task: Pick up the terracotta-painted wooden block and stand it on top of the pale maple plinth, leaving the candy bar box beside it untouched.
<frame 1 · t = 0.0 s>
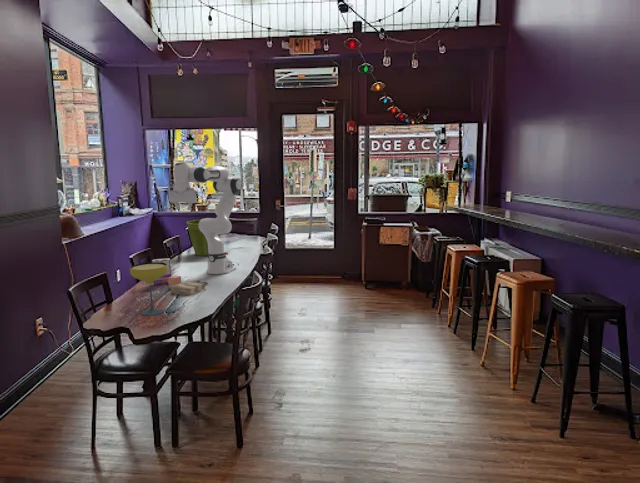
hand: (183, 209, 289), 48 cm above the table, tool pointing down, fingers open, 8 cm apart
cocktail glass: (152, 312, 236), on the table
plinth: (188, 291, 275), on the table
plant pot: (206, 254, 392), on the table
block: (175, 287, 285), on the table
candy bar box: (163, 284, 294), on the table
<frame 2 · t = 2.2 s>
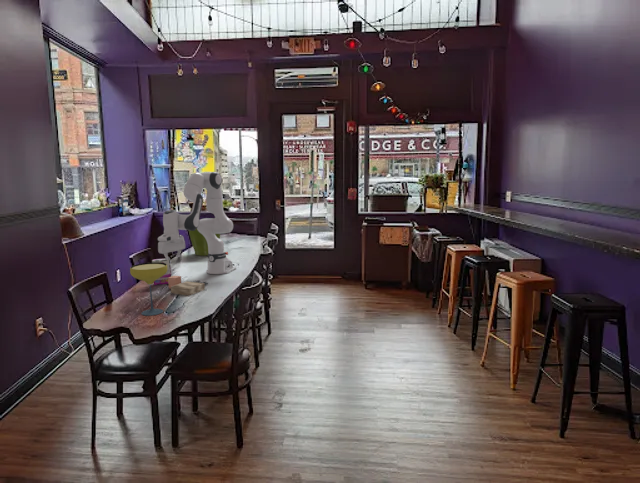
hand: (172, 258, 281), 19 cm above the table, tool pointing down, fingers open, 8 cm apart
nothing on the table moved.
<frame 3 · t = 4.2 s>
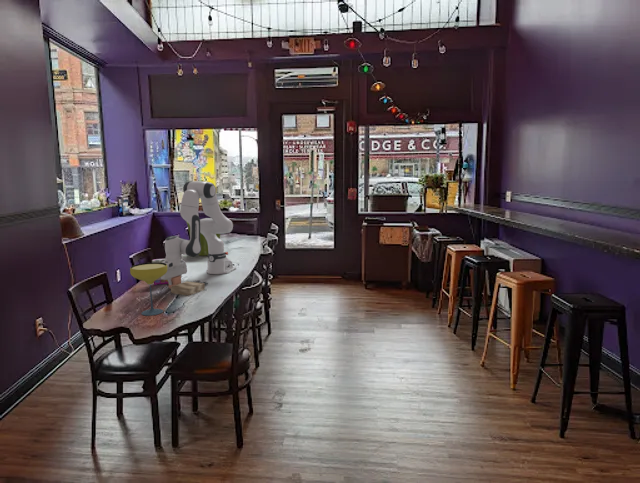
hand: (174, 283, 284), 3 cm above the table, tool pointing down, fingers closed on block, 5 cm apart
block: (175, 287, 285), on the table, touching gripper
everything else where it was.
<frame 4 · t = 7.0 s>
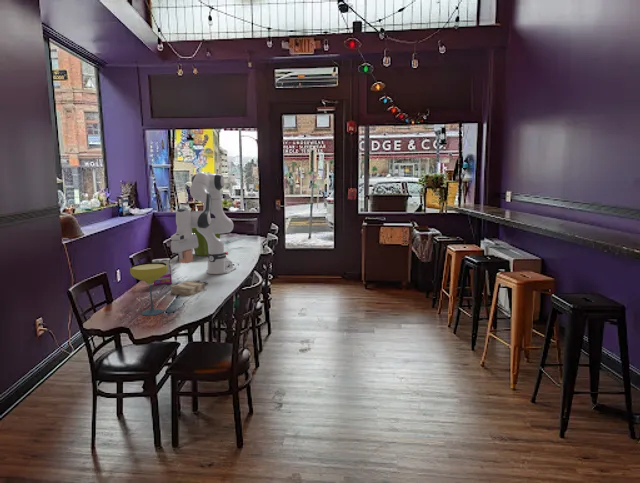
hand: (186, 257, 272), 21 cm above the table, tool pointing down, fingers closed on block, 5 cm apart
block: (186, 261, 272), point 18 cm above the table, touching gripper
everything else where it was.
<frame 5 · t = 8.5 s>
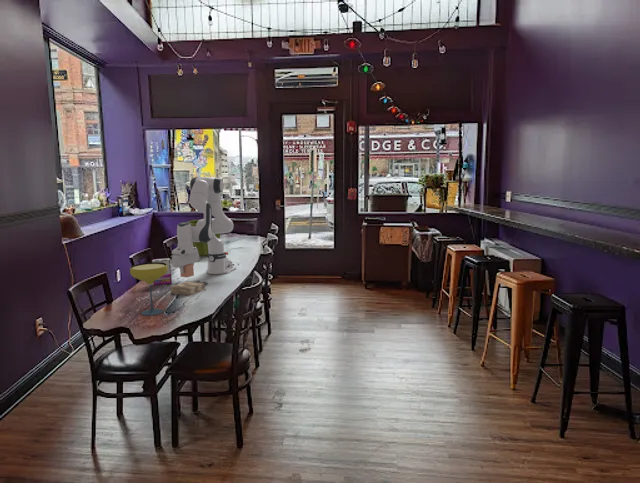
hand: (187, 271, 273), 12 cm above the table, tool pointing down, fingers closed on block, 5 cm apart
block: (187, 276, 273), point 10 cm above the table, touching gripper
everything else where it was.
when the fingers open (8 cm above the table, at t = 9.8 s): block drops 1 cm, resting on plinth.
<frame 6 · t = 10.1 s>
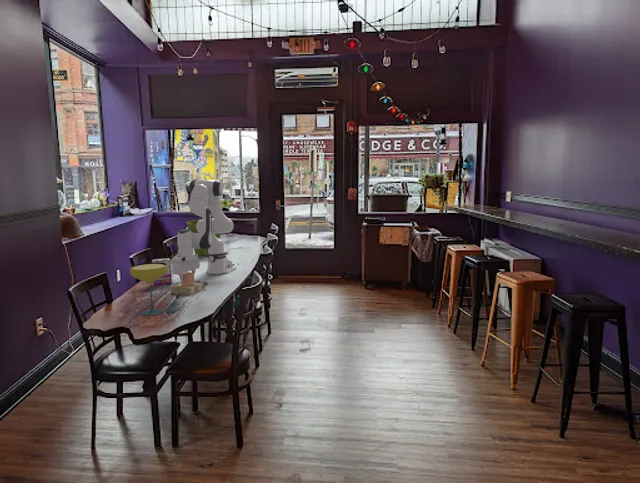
hand: (187, 278, 274), 8 cm above the table, tool pointing down, fingers open, 8 cm apart
block: (187, 284, 274), point 4 cm above the table, touching plinth
everything else where it was.
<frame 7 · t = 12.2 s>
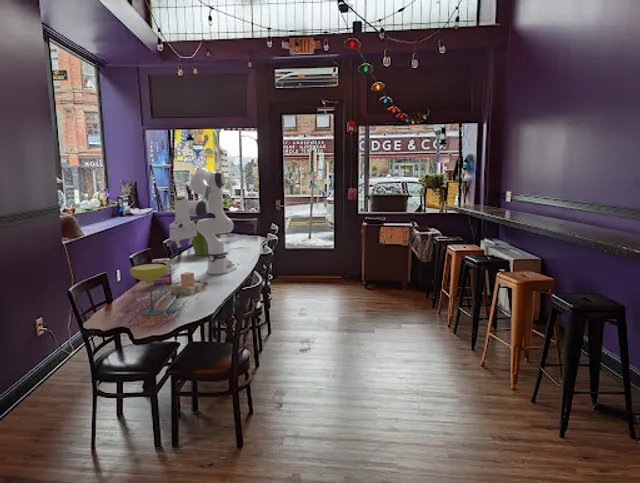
hand: (184, 245, 274), 28 cm above the table, tool pointing down, fingers open, 8 cm apart
nothing on the table moved.
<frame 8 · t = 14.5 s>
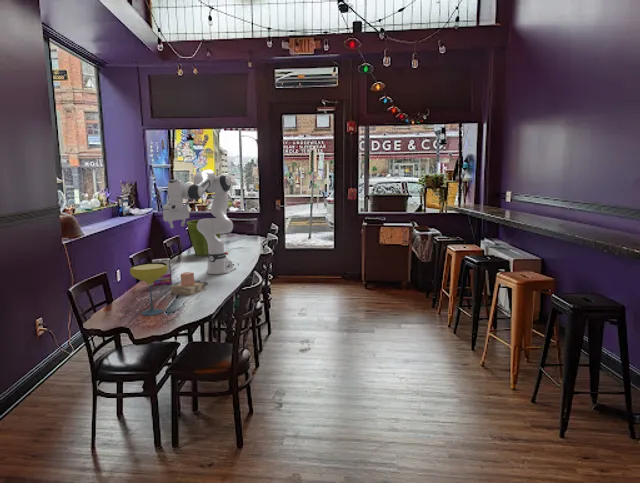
hand: (177, 226, 289), 37 cm above the table, tool pointing down, fingers open, 8 cm apart
nothing on the table moved.
at the end: block inside the target area on the plinth (0.0 cm from its centre), point 4.3 cm above the plinth's base; block tilted 0°; the gripper is holding nothing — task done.
